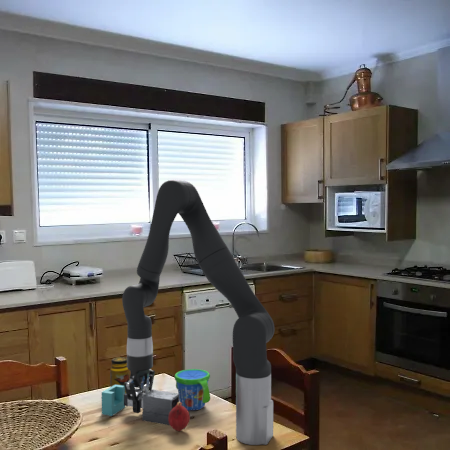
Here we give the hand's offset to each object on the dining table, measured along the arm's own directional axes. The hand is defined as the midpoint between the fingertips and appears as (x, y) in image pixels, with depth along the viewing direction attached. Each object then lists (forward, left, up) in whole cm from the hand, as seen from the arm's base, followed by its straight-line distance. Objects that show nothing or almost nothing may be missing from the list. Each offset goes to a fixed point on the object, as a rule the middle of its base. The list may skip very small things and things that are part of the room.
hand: (140, 409), depth 148 cm
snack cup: (-12, -11, -2) cm, 16 cm away
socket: (+9, 0, -2) cm, 9 cm away
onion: (-16, +6, -2) cm, 17 cm away
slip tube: (-3, 0, +1) cm, 3 cm away
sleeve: (-7, 0, -2) cm, 7 cm away
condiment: (+15, -11, -2) cm, 19 cm away
